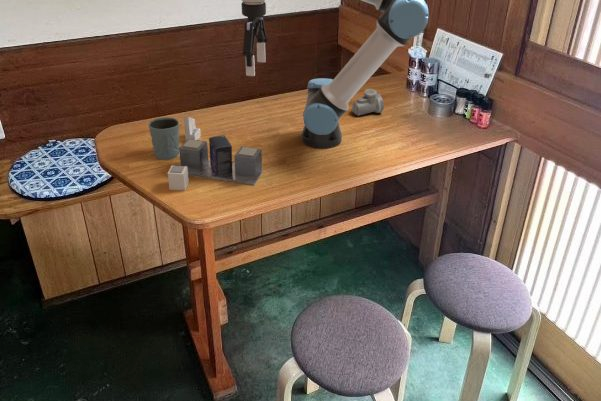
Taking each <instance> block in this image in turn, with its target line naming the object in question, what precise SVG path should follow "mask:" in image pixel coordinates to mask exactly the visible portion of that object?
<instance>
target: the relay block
mask: <svg viewBox="0 0 601 401" xmlns="http://www.w3.org/2000/svg"><path fill="white" fill-rule="evenodd" d="M167 179H168V188H169V191H170V190H171V191H184V192H185V191H186V189H187V187H188V185H189V182H190V181H189V180H190V179H189V175H188V169H187V166H181V165H171V166H170V168H169V170H168V172H167Z"/></svg>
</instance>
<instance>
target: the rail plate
mask: <svg viewBox="0 0 601 401" xmlns="http://www.w3.org/2000/svg"><path fill="white" fill-rule="evenodd" d="M208 146H209V144H208V141H207V140H199V139H198V140H193V139H187V140H186V139H185V141H184V142H183V143H182V144H181V145H180V146H179V161H180V166H187V169H188V177H195V178H196V177H197V178H203V179H209V180H217V181H223V182H230V183H236V184H244V185H251V186H256V183H257V182H258V180H259V179H260V177H261V175H262V173H263V172H264V168H263V149H262V148H259V147H257V148H256V147H249V146H242V145H241V146H240V147H239V149H238V150H237V152H236V153H234V158H233V160H234V163H232V172H233V173H232V174H227V175H221V176H216V174H215V172H214V170H213V169H212V167H211V165H210V158H209V149H208V148H209V147H208Z"/></svg>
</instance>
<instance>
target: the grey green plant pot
mask: <svg viewBox="0 0 601 401" xmlns="http://www.w3.org/2000/svg"><path fill="white" fill-rule="evenodd" d="M147 125H148V128H149V129H148V130H149V133H150V137H151V143H152V146H153V147H152V148H153V153H154V154H153V155H154V157H155V158H156V159H158V160H161V161H168V160H174V159H176V158H177V157H178V156H180V153H179V147H180V146H179V144H180V121H179V120H178V119H176V118H173V117H167V116H166V117H158V118H154V119H152V120H150V121H149V122H148V124H147Z"/></svg>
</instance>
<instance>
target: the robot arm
mask: <svg viewBox="0 0 601 401" xmlns="http://www.w3.org/2000/svg"><path fill="white" fill-rule="evenodd" d="M360 1H362V2H365V3H367V4H370V5H373V6H374V7H375V10H377V11H379V12H381V13H382V14H381V15H379V17H378V19H377V20H376V28H375V29H374V31H373V32H372V33H371V34H370V35H369V37H368V38H367V39H366V41H365V42H363V44H362V45H361V46H360V48H359V49H358V50H357V51H356V52H355V53H354V55H353V56H351V58H350V59H349V60H348V62H347V63H346V64H345V65H344V67H342V68H341V70H340V71H339V73H338V74H337V75H336V76H335V77H334V78H333V79H332V78H326V77H325V78H322V77H321V78H320V77H319V78H313V79H311V80H309V81H308V82H307V88H306V89H307V94H306V95H307V96H306V102H305V106H304V110H303V111H302V112H303V113H302V117H303V123H304V126H303V128H302V131H301V137H300V138H301V141H302V143H304V144H305V145H306V146H308V147H312V148H317V149H330V148H335V147H337V146H339V145H340V144H341V142H342V138H343V136H342V135H343V134H342V130H341V127H340V123H339V120H340V119H341V118H342V117H343V116H344V114H346V113H347V111H348V110H349V109H350V108H349V107H350V106H349V103H350V101H351V99H353V97H355V95H356V94H357V93H358V92H359V91H360V90H361V88H362V87H364V85H365V84H366V83H367V81H368V80H369V79H371V77H372V76H373V75H374V74H375V72H376V71H377V70H378V69H379V68H380V67H381V66H382V64H384V62H385V61H386V60H387V59H388V58H389V57H390V55H392V53H393V52H394V51H395V50H396V48H399V47H404V46H406V44H408V42H410V40H411V39H413V38H415V37H418V36H419V35H420V34H421V33H423V31H424V30H425V29H426V27H427V25H428V22H429V17H430V16H429V13H430V12H429V8H428V4H427V2H426V1H425V0H360ZM266 13H267V3H266V0H241V14H242V16H244V17H246V18H247V21H246V22H244V31H243V32H244V34H243V46H242V47H243V48H242V57H244V59H245V75H246V76H248V77H255V76H256V71H255V70H256V68H255V65H256V64H255V55H254V51H255V44H256V61H257V63H266V62H267V61H266V60H267V59H266V43H267V42H268V38H267V31H266V25H265V20H264V19H265V18H264V16H265V15H266ZM256 41H257V42H256Z"/></svg>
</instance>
